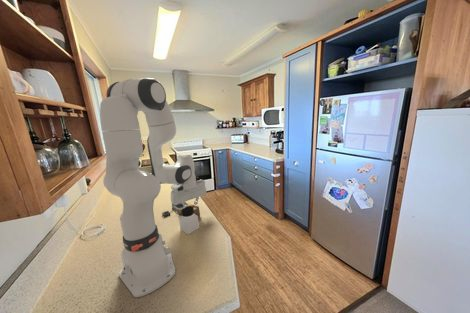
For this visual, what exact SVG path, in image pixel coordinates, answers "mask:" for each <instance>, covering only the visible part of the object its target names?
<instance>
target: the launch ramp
mask: <svg viewBox="0 0 470 313" xmlns="http://www.w3.org/2000/svg"><path fill="white" fill-rule="evenodd" d="M190 204H191V203H190ZM191 205H192V207H193V209H194V214H195V215H197V216H198V218H199V217H200V216H201V213H200V211H201V210H200V207H199V206H198V205H195V204H191ZM177 214H178V215H179V216H182V213H181V209H180V208H178V213H177Z"/></svg>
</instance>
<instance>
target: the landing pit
mask: <svg viewBox="0 0 470 313" xmlns="http://www.w3.org/2000/svg"><path fill="white" fill-rule="evenodd" d="M185 204H186V205H189V204H190V203H188V202H187V201H186V202H185ZM183 207H184V206H183V205H182V204H181V203H180V204H177V205H174V204H172V203H171V208H172V209H173V210H174V211H175V212H177V214H179V213H178V208H180V209H182V208H183Z"/></svg>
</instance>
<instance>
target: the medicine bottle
mask: <svg viewBox="0 0 470 313" xmlns="http://www.w3.org/2000/svg"><path fill="white" fill-rule="evenodd" d="M181 213H182V214H181V215H179V217H178V222H179V229H180V231H182V232H184V233H185V234H186V235H190V234H191V233H193V232H195V231H197V230H198V229H199V228H200V224H199V223H200V222H199V221H200V220H199V217H198V216H197V215H195V214H194V209H193V207H192V206H185V207H183V208H182V209H181Z"/></svg>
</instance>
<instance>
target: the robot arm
mask: <svg viewBox="0 0 470 313" xmlns="http://www.w3.org/2000/svg"><path fill="white" fill-rule="evenodd" d="M105 96H106V98H103V99H102V100H101V102H100V103H99V104H100V106H99V118H100V119H99V120H100V129H101V134H102V139H103V140H102V141H103V144H104V149H105V157H106V158H105V159H106V160H105V161H106V162H105V164H106V165H105V175H104V177H103V186H104V187H105V188H106V190H107V191H108V192H109V193H110V194H111V195H112V196H114V197H115V196H116V197H119V198H120V199H121V202H122V213H121V214H120V217H119V221H120V226H121V230H122V231H121V232H122V244H123V246H124V247H123V250H122V251H121V252H120V256H121V261H122V266H123V268H121V270H119V272H118V277H119V279H120V280H121V281H122V282H123V284H124V285H125V286H126V287H127V289H128V290H129V292H130V293H131V294H132V296H133V297H134V298H140V297H144V296H146V295H148V294H150V293H152V292H154V291H156V290H158V289H159V288H161V287H163V286H164V285H165V284H166V283H168V282H169V281H170V280H171V279H173V277H174V276H175V274H176V273H177V271H176V268H175V264H174V260H173V258H172V257H173V256H172V252H171V249H170V247H166V246H164V245H166V240H163V238H162V234H161V233H159V228H158V225H157V224H156V221H155V220H156V218H155V214H154V204H155V200H156V198H157V197H158V196H159V194H160V192H161V185H163V184H164V185H165V184H167V185H168V184H169V185H171V186H170V188H171V192H170V202H171V205H172V204H174V205H177V204H180V203H181V204H182V205H183V206H184V207H185V206H187V205H186V204H185V202H186V203H187V202H188V201H191V200H193V199H195V200H194V201H193V205H195V206H197V205H198V203H199V202H198V201H199V199H200V197H202V196H205V195H206V194H207V187H206V181H205V180H204V179H198V180H197V178H196V177H197V176H196V174H195V172H196V170H195V162H194V158H193V156H192V155H189V154H179V155H178V156H177V158H176V162H174V164H167V163H165V162H164V158H163V152H162V147H163V145H165V144H167V143H168V142H170V141H171V140H173V139H174V137H175V136H176V134H177V126H176V123H175V122H176V121H175V119H174V116H173V112H172V110H171V108H170V105H169V103H168V101H167V95H166V90H165V87H164V86H163V84H162V83H161V82H160V81H159V80H157V79H156V78H151V77H143V78H134V79H133V78H129V79H125V80H122V81H117V82H114V83H112V84H110V85H109V86H108V87H107V90H106V95H105ZM139 112H143V114H144V117H145V120H146V123H147V127H148V133H149V134H148V137H147V140H146V141H147V142H146V143H147V152H148V156H149V160H150V166H151V167H150V168H151V173H150V172H148V171H146V170H141V169H140V167H139V162H140V157H141V155H142V154H143V152H144V148H143V147H144V146H143V141H142V140H143V139H142V134H141V128H140V123H139V118H138V114H139Z"/></svg>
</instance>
